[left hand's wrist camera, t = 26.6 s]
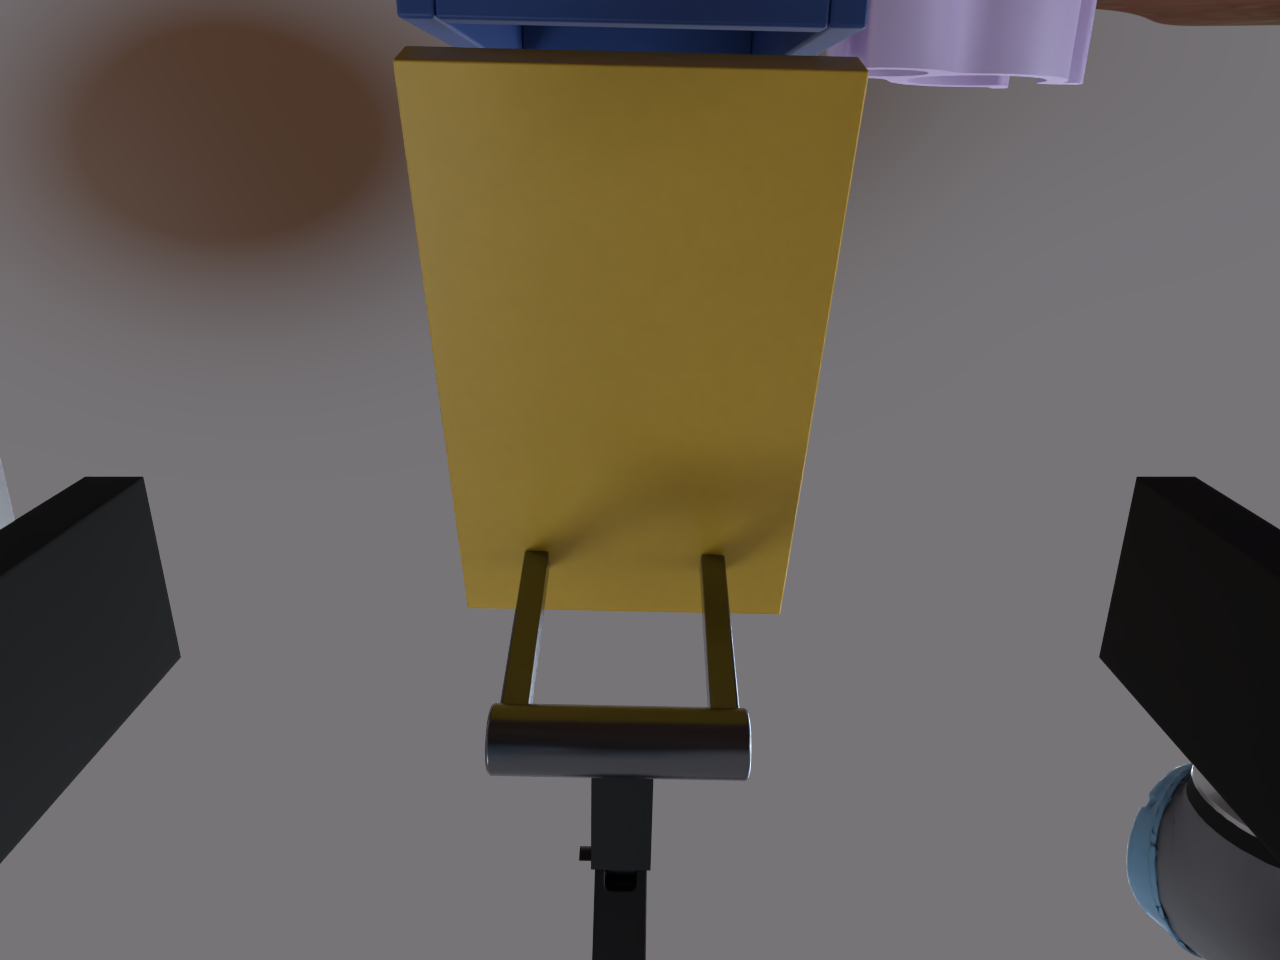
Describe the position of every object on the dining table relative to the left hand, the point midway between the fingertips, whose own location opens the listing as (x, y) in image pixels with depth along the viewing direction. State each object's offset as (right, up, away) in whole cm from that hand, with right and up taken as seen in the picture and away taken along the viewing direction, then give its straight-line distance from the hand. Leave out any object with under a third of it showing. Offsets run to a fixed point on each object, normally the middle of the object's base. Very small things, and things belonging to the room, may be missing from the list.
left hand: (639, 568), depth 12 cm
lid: (0, +4, +12) cm, 12 cm away
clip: (+22, +37, +51) cm, 66 cm away
